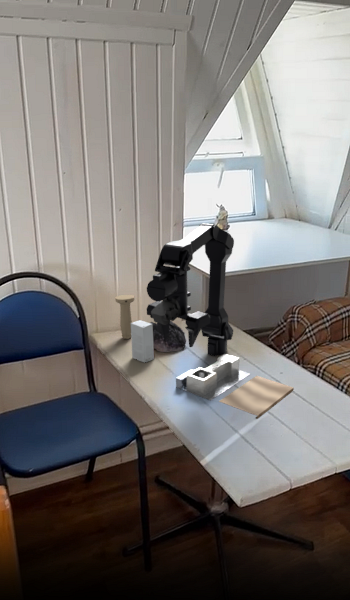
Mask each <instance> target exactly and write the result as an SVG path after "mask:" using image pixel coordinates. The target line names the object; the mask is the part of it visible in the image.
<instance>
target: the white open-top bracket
mask: <svg viewBox="0 0 350 600" xmlns="http://www.w3.org/2000/svg"><path fill="white" fill-rule="evenodd" d="M193 370H194V371H192V372H190V373H189V374H187V390H190V391H193V392H196V393H198V394H201V395H206V394H207V393H209V392H210V391H212V390H214V389H215V388H217V382H218V381H220V380H221V379H223V378H224V377H226V376H227V375H228V376H231V377H232V376H233V375H235V374H236V373H238V372H239V370H240V357H238V356H235V355H231V354H228V353H225V354H223V355H219V357H217V361H216V362H214V363H212V364H210V365H209V366H207V367H205V368H203V367H200V366H199V367H198V368H195V369H193ZM199 373H204V379H202V378H199Z"/></svg>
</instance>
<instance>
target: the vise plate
mask: <svg viewBox="0 0 350 600" xmlns="http://www.w3.org/2000/svg"><path fill="white" fill-rule="evenodd" d="M194 370H195V369H193V368H191V369H188V370H187V371H186V372H184V373H181V374H180V375H179V376H176V377H175V387H176V388H177V389H179V390H182V391H183V392H187V393H190V394H192V395H195V396H198V397H200V398H202V399H205V400H208V401H210V402H211V401H212V400H214V399H215V398H217V397H218V396H220V395H221V394H223V393H224V392H226V391H227V390H229V389H231V388H232V387H234V386H235V385H236V384H238V383H239V382H241V381H242V380H244V379H245V378H247V377H249V376H250V375H251V373H249V372H246V371H243V370H241V369H239V372H238V373H236V374H235V375H233V376H232V377H231V376H228V375H227V376H226V377H224V378H223V379H221V380H220V381H218V382H217V388H215V389H214V390H212V391H210V392H209V393H207V394H206V395H201V394H198V393H196V392H193V391H190V390H187V374H189V373H190V372H192V371H194ZM199 378H202V379H204V373H199ZM176 388H175V389H176Z"/></svg>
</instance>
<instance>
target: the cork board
mask: <svg viewBox="0 0 350 600" xmlns="http://www.w3.org/2000/svg"><path fill="white" fill-rule="evenodd" d="M293 390H295V389H294V387H293V386H290V385H287V384H285V383H284V384H283V383H281V382H278V381H274V380H272V379H268V378H265V377H263V376H260V375H256V376H254V377H252V378H251V379H250V380H248V381H247V382H245V383H244V384H242V385H240V386H238V387H237V388H236V389H235V390H233V391H232V392H231V393H229V394H227V395H226V396H224V397H223V398H222V399H220V400H219V401H218V402H220V403H222V404H225V405H227V406H230V407H233V408H236V409H238V410H241V411H243V412H246V413H249V414H252V415H255V419H256V420H258V419H260V418H261V417H262V416H263V415H265V414H266V413H267V412H269V411H271V409H273V407H275V406H276V405H278V404H279V403H280V402H281V401H282V400H284V399H285V398H286V397H288V396H289V395H290V394H291V393H292V391H293ZM293 392H294V391H293Z"/></svg>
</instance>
